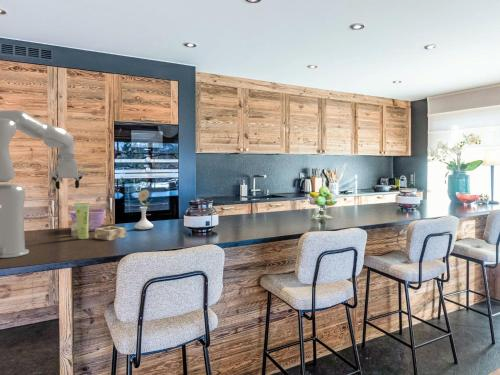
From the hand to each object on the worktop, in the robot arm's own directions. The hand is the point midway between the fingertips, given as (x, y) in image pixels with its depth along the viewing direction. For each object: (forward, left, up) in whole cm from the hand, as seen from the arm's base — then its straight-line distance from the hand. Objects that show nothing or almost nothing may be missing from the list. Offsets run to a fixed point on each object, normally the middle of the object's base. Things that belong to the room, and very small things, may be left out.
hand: (67, 188), depth 196 cm
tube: (+1, -11, -27) cm, 29 cm away
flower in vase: (+38, -19, -27) cm, 50 cm away
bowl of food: (+19, +9, -27) cm, 34 cm away
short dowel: (+4, -1, -27) cm, 27 cm away
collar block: (+11, -21, -27) cm, 36 cm away
